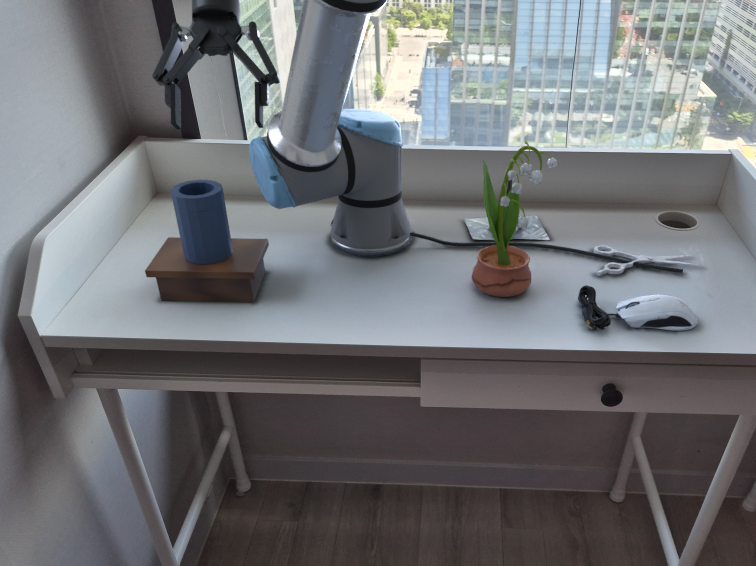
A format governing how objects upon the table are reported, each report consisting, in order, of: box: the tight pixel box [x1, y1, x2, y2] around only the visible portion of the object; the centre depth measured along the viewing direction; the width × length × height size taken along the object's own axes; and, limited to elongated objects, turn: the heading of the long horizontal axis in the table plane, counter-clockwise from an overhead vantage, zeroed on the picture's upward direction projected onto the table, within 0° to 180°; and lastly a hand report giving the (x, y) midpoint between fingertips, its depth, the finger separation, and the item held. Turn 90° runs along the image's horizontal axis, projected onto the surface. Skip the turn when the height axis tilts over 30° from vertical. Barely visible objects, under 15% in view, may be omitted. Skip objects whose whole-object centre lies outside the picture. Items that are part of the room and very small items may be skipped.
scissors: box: [593, 245, 701, 277], centre depth 125 cm, size 11×1×20 cm
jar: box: [170, 179, 233, 264], centre depth 109 cm, size 8×8×11 cm
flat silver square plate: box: [463, 179, 551, 241], centre depth 131 cm, size 15×10×13 cm
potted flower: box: [471, 140, 559, 298], centre depth 110 cm, size 12×10×25 cm
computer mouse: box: [577, 284, 699, 332], centre depth 108 cm, size 10×18×4 cm, turn 88°
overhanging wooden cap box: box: [144, 236, 270, 303], centre depth 114 cm, size 17×12×6 cm
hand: (217, 125), depth 113 cm, fingers open, 13 cm apart
